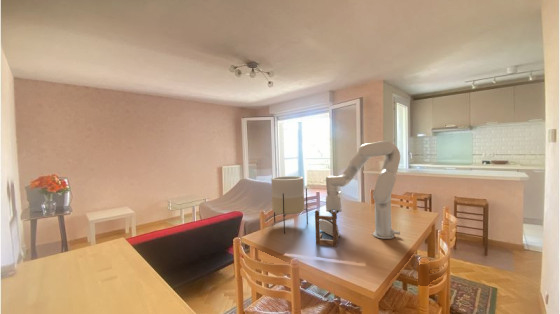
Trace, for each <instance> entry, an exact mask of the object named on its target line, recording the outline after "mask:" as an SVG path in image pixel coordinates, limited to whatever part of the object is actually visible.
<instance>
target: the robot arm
mask: <svg viewBox="0 0 560 314" xmlns="http://www.w3.org/2000/svg"><path fill="white" fill-rule="evenodd" d="M379 156H384V161H383V164H382V165H383V166H382V168H381V170H380V172H379V174H378V176H377V179H376V183H375V186H374V189H373V192H372V198H373V200H374V228H375V229H374V231H373V232H372V235H373V237H375V238H379V239H382V240H383V239H384V240H389V239H390V240H392V239H394V238H395V235H398V236H399V235H401V231H399V230H398V229H397V230H395V229H393V227H392V193H393V190H394V187H395V184H396V178H397V173H398V170H399V166H400V163H401V152H400V150H399V148H398V147H397V146H396V144H394V143H393V142H392V141H390V140H380V141H375V142H370V143H369V142H368V143H363V144H361V145H360V146H359V148H358V151H357V152H356V153H355V154H354V156H353V157H352V158H351V160H349V163H348V166H347V167H346V169H345V170H344V172H343V173H342V174H340V175H337V176H336V175H328V176H326V177H325V186H326V187H325V188H326V196H325V209H326V210H325V211H326V212H327V213H329V214H331V215H332V212H333V211H335V212H336V220H337V219H338V215H337V214H338V213H340V212H342V211H343V210H342V201H341V200H342V199H341V197H340V194H341V191H339V188H344V187H346V186H347V185H348V184H349V183H351V181H352V180H353V179H354V178H355V177H356V175H357V174H358V173H359V172H360V171H361V170H362V168H363V167H364V166H365V165H366V163H367V162H368V161H369V160H370V159H371V158H373V157H379ZM338 187H339V188H338Z"/></svg>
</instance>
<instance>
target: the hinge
mask: <svg viewBox="0 0 560 314" xmlns="http://www.w3.org/2000/svg"><path fill="white" fill-rule="evenodd" d="M319 227H320V231H321V232H324V233H325V234H328V235H330V236H331V237H333V223H332V220H324V219H319ZM339 231H340V230H339V227H338V225H337V235H338V238H342V236H341V235H342V234H340V232H339Z"/></svg>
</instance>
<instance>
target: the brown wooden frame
mask: <svg viewBox="0 0 560 314" xmlns="http://www.w3.org/2000/svg"><path fill="white" fill-rule="evenodd" d="M319 211H320V210H317V209H316V210H315V211H314V213H315V214H314V216H315V217H314V219H315V220H314V221H315V222H314V223H315V224H314V225H315V226H314V227H315V245H316V246H317V245H319V246H329V247H333V248H334V247H335V248H336V247H338V242H339V237H338V235H337V226H338V224H337V219H336V212H335V210H333V212H332V214H331V215H320V212H319ZM322 219H324V220H332V223H333V236H332V239H328V238H323V233H322V232H320V231H321V230H320V224H319V221H320V220H322Z"/></svg>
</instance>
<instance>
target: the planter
mask: <svg viewBox="0 0 560 314" xmlns="http://www.w3.org/2000/svg"><path fill="white" fill-rule="evenodd" d="M270 180H271V206H272V207H271V209H272V212H273V222H274V224H275V223H276V214H279V215H283V217H282V218H283V233H284V234H286V226H285V225H286V222H285V220H286V219H285V217H286V216H288V215H296V214H300V213H303V212H305V211H306V212H305V213H306V224H307V225H308V224H309V216H308V214H309V213H308V189H307V188H305V187H304V184H305V183H304V177H303V176H298V175H297V176H293V175H290V176H289V175H287V176H286V175H285V176H276V177H272V178H271V179H270ZM305 205H306V206H305ZM305 207H306V208H305Z"/></svg>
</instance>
